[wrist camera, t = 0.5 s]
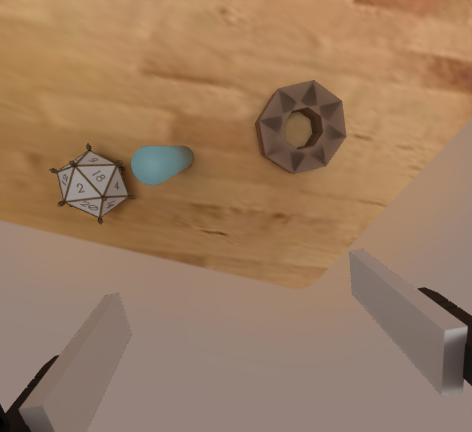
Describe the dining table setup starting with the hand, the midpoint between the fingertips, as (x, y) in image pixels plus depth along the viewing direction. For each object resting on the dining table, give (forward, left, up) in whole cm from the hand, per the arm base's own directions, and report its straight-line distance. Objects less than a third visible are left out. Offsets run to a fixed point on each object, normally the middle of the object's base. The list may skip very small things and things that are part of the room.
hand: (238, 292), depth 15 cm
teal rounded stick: (-9, +2, -24) cm, 25 cm away
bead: (+2, +13, -24) cm, 27 cm away
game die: (-16, -6, -24) cm, 29 cm away
